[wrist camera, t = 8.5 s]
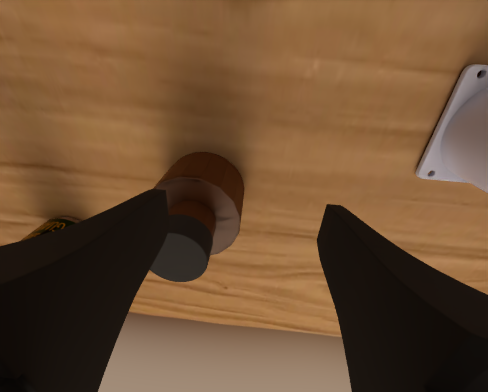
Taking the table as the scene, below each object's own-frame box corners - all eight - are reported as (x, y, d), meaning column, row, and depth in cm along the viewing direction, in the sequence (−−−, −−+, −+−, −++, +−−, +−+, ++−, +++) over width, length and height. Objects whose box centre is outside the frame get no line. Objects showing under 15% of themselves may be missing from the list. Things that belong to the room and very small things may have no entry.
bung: (216, 206, 15) (207, 236, 13) (215, 251, 17) (207, 285, 14) (157, 200, 15) (136, 229, 13) (163, 246, 17) (145, 279, 14)
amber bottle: (246, 155, 19) (240, 197, 13) (241, 223, 23) (234, 281, 17) (164, 148, 20) (121, 187, 13) (171, 216, 23) (139, 271, 17)
